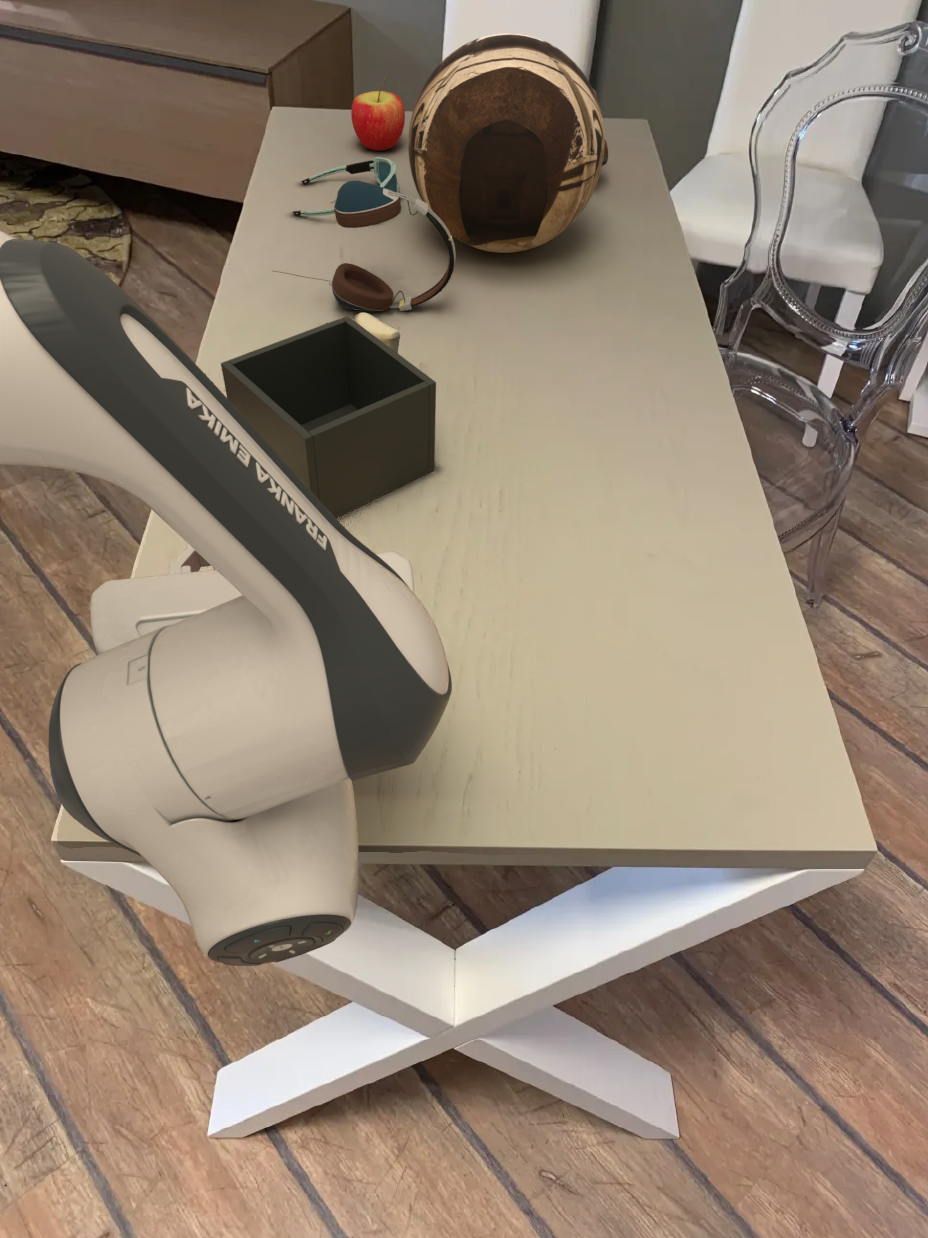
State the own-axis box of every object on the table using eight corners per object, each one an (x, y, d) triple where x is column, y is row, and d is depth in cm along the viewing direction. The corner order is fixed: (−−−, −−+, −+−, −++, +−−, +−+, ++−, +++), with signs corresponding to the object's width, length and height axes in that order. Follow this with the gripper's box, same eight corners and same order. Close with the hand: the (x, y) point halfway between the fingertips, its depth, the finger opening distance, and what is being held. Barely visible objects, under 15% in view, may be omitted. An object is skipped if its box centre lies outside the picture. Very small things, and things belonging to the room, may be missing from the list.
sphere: (399, 281, 122) (396, 68, 103) (418, 196, 139) (418, -1, 120) (592, 294, 121) (624, 83, 103) (587, 207, 138) (614, 11, 120)
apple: (416, 150, 149) (416, 81, 142) (370, 162, 146) (368, 92, 138) (387, 132, 154) (385, 65, 146) (342, 143, 150) (338, 74, 143)
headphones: (266, 307, 114) (446, 331, 116) (264, 181, 103) (463, 210, 105) (274, 282, 119) (448, 305, 120) (273, 158, 107) (464, 187, 109)
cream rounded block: (405, 377, 107) (404, 313, 102) (397, 404, 104) (396, 339, 98) (355, 372, 108) (352, 308, 102) (346, 398, 104) (342, 334, 98)
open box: (314, 528, 90) (305, 439, 82) (236, 452, 97) (220, 362, 89) (434, 470, 97) (436, 382, 89) (352, 402, 104) (347, 315, 96)
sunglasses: (398, 225, 132) (393, 189, 128) (294, 235, 133) (286, 199, 129) (403, 181, 141) (398, 147, 138) (306, 190, 142) (298, 156, 139)
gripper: (438, 636, 55) (403, 485, 64) (73, 679, 52) (90, 513, 61) (436, 701, 60) (403, 552, 69) (101, 744, 57) (113, 581, 66)
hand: (254, 534), depth 65 cm, fingers closed on beverage can, 6 cm apart
